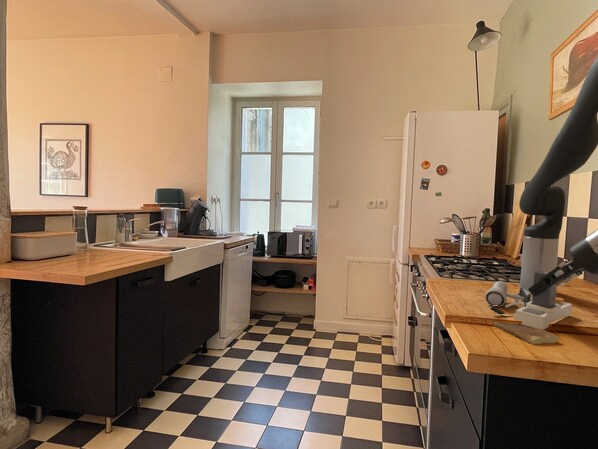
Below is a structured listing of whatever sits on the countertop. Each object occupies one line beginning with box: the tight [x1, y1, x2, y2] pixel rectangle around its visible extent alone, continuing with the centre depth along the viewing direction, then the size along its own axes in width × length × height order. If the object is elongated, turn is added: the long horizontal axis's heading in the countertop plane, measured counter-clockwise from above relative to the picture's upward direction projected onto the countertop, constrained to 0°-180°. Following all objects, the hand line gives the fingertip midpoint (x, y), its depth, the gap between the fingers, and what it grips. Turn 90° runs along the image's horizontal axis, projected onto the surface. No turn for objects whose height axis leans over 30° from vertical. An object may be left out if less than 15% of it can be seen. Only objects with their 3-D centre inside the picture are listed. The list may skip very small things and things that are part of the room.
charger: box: [531, 271, 558, 308], centre depth 86 cm, size 4×4×8 cm
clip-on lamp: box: [484, 280, 533, 316], centre depth 95 cm, size 12×6×18 cm
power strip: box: [514, 296, 573, 330], centre depth 88 cm, size 21×6×4 cm, turn 127°
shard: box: [492, 320, 560, 345], centre depth 78 cm, size 11×8×2 cm
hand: (535, 291), depth 88 cm, fingers closed on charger, 4 cm apart
